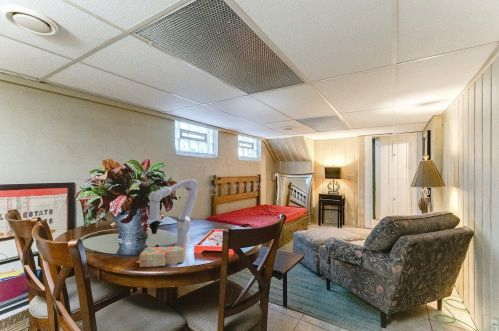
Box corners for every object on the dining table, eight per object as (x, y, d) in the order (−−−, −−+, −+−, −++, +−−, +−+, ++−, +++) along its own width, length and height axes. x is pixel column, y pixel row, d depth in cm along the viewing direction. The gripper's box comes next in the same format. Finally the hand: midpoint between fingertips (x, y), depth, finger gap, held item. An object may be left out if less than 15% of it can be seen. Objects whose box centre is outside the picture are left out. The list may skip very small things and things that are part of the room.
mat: (144, 257, 131) (144, 256, 131) (182, 259, 129) (182, 258, 129) (136, 262, 123) (136, 262, 124) (175, 264, 121) (175, 264, 121)
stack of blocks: (185, 245, 132) (183, 252, 120) (185, 256, 132) (183, 264, 120) (146, 247, 129) (139, 254, 117) (145, 258, 129) (139, 267, 117)
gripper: (154, 209, 152) (154, 230, 151) (141, 213, 137) (141, 236, 137) (164, 209, 151) (164, 231, 150) (153, 213, 136) (152, 236, 136)
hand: (154, 233), depth 143 cm, fingers closed
